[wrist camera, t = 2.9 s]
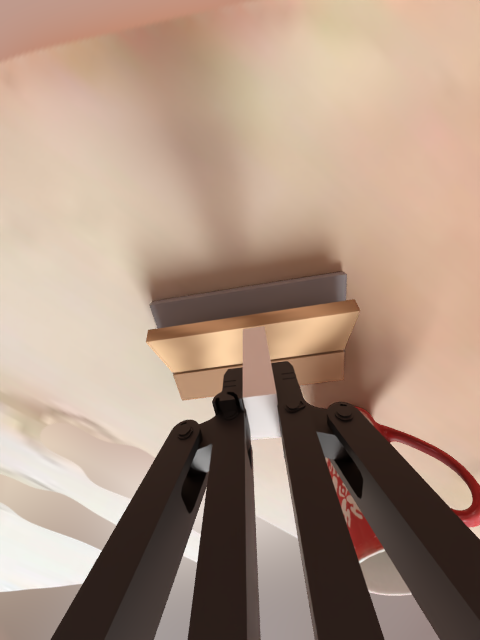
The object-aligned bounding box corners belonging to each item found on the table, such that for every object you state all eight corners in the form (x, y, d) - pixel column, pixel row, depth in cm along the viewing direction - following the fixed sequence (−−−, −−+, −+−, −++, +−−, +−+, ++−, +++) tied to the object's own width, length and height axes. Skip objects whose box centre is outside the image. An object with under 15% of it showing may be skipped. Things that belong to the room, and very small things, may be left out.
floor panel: (182, 389, 28) (178, 403, 26) (153, 301, 23) (144, 309, 21) (340, 368, 26) (348, 381, 25) (342, 271, 22) (352, 277, 20)
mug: (323, 458, 33) (372, 606, 21) (293, 418, 30) (332, 564, 18) (415, 423, 30) (536, 570, 18) (394, 374, 27) (523, 512, 15)
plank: (174, 362, 25) (173, 372, 24) (148, 330, 20) (146, 342, 19) (339, 339, 24) (344, 349, 23) (354, 299, 19) (360, 310, 18)
